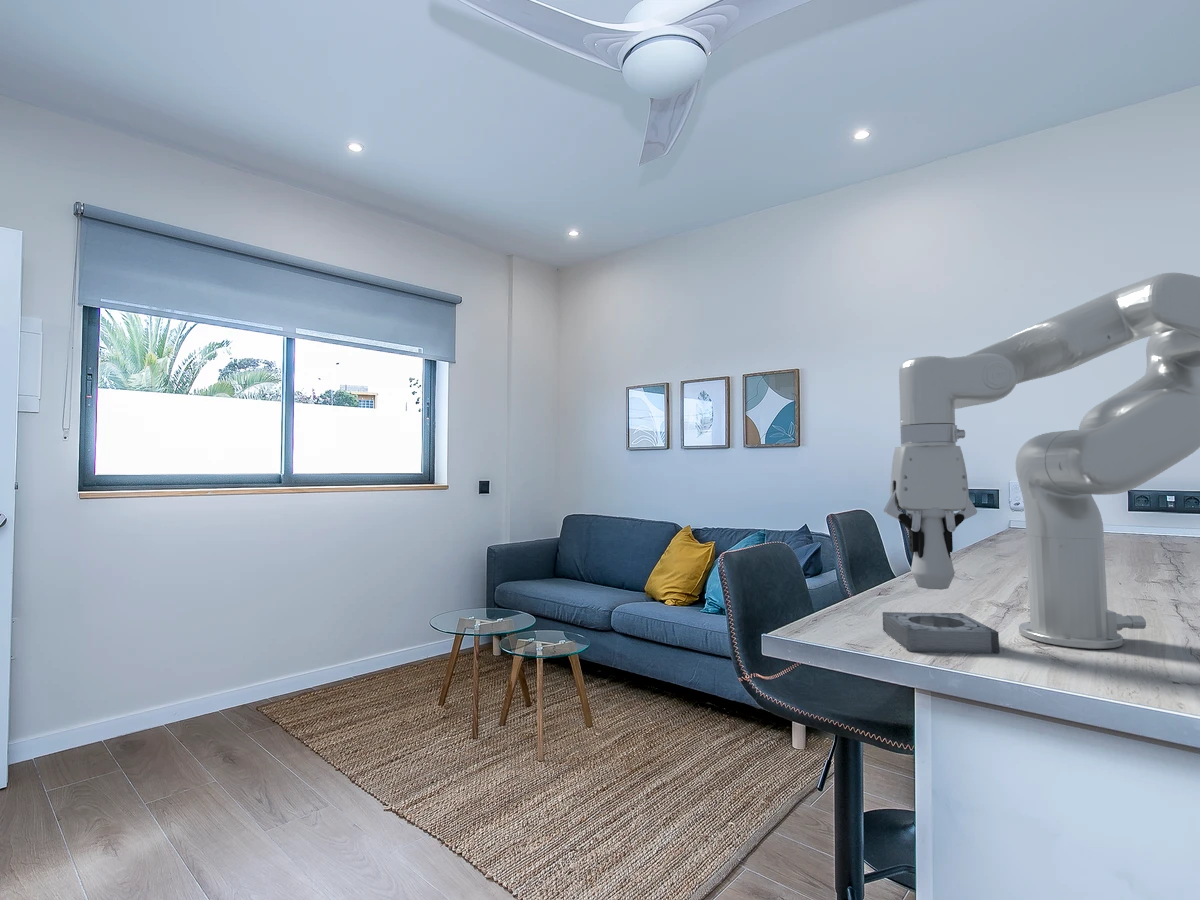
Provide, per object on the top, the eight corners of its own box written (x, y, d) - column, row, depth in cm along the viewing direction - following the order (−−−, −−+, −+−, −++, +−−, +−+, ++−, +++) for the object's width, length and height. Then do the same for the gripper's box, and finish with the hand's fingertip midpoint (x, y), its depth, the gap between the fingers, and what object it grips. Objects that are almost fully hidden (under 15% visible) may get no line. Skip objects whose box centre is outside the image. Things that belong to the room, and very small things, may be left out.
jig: (961, 631, 98) (961, 613, 98) (999, 653, 86) (998, 632, 87) (883, 630, 100) (882, 612, 100) (909, 651, 88) (908, 630, 88)
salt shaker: (944, 584, 96) (941, 501, 97) (961, 590, 90) (959, 502, 91) (905, 583, 97) (903, 501, 97) (920, 590, 91) (918, 502, 92)
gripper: (973, 438, 97) (976, 554, 96) (865, 439, 99) (867, 553, 99) (996, 435, 90) (1000, 561, 89) (879, 436, 92) (882, 559, 91)
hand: (930, 556), depth 94 cm, fingers closed on salt shaker, 3 cm apart
